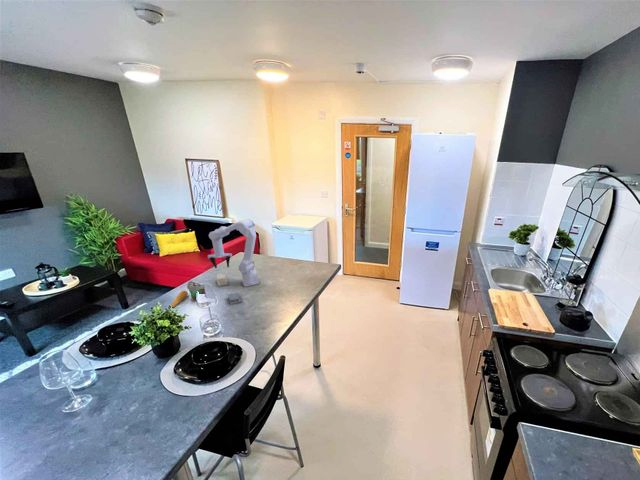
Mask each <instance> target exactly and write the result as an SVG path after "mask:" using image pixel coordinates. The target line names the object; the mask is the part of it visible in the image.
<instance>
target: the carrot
mask: <svg viewBox="0 0 640 480" xmlns="http://www.w3.org/2000/svg"><path fill="white" fill-rule="evenodd" d="M188 295H189V293H188V291H186V290H181V291H180V292H179V293H178V295H177V296H176V298H175V299H174V300H173V302H172V303H171V305H170V306H172V307H173V308H175V307H176V306H177V305H178V304H179V303H181V302H182V301H183V300H184V299H185V298H186V297H188Z"/></svg>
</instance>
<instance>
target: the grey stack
mask: <svg viewBox="0 0 640 480" xmlns="http://www.w3.org/2000/svg"><path fill="white" fill-rule="evenodd" d="M227 295H228V300H229V304H230V305H235V304H239V303H241V302H242V300H241V298H240V297H241V296H240V294H239V293H238V292H234V293H233V292H232V293H229V294H227Z"/></svg>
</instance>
